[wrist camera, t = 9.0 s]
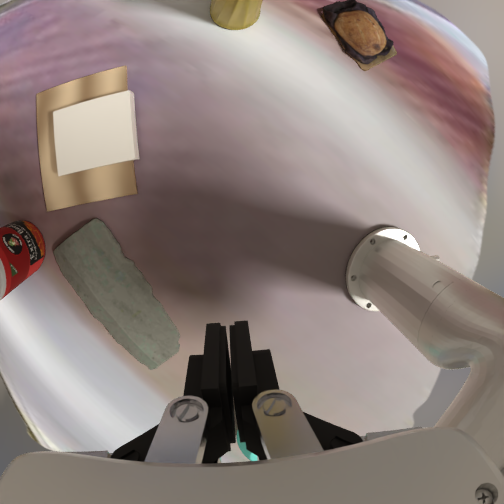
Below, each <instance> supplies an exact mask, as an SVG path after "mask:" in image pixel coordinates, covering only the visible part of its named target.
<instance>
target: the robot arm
mask: <svg viewBox="0 0 504 504" xmlns="http://www.w3.org/2000/svg"><path fill="white" fill-rule="evenodd" d="M370 240H371V241H370ZM346 285H347V289H348V292H349V294H350V296H351V297H352V299H353V300H354V301H355V302H356V303H357V304H358V305H359V306H360V307H361V308H363V309H365V310H369V311H380V312H381V313H382V314H383V315H384V316H385V317H386V318H387V319H388V320H389V321H390V322H391V323H392V324H393V325H394V326H395V327H396V328H397V329H398V330H399V331H400V332H401V333H402V334H403V335H404V336H405V337H406V338H407V339H408V340H409V341H410V342H411V343H412V344H413V345H414V346H415V347H416V348H417V349H418V350H419V351H420V352H421V353H422V354H423V355H424V356H425V357H426V358H427V359H428V360H429V361H430V362H431V363H432V364H434V365H435V366H437V367H440V368H443V369H461V368H466V367H471V371H470V374H469V376H468V378H467V380H466V382H465V383H464V385H463V387H462V389H461V390H460V392H459V393H458V394H457V396H456V397H455V399H454V400H453V402H452V403H451V404H450V406H449V407H448V408H447V410H446V411H445V413H444V414H443V415H442V416H441V418H440V419H439V420H438V422H437V423H436V425H435V426H434V427H428V428H422V427H414V428H407V429H400V430H392V431H383V432H373V433H366V436H359V435H357V434H355V433H354V432H351V431H349V430H346V429H343V428H341V427H338V426H336V425H333V424H331V423H328V422H326V421H323V420H321V419H319V418H316V417H314V416H311V415H309V414H307V413H305V412H303V411H302V410H301V408H300V406H299V404H298V402H297V400H296V399H295V397H294V396H293V395H292V394H290V393H289V392H286V391H283V390H279V386H278V382H277V377H276V373H275V369H274V365H273V360H272V356H271V352H270V349H267V350H257V351H252V348H251V341H250V334H249V327H248V321H236V322H235V325H230V353H231V366H230V358H229V350H228V342H227V334H226V326H221V325H220V323H210V324H207V325H206V335H205V345H204V355H190V357H189V362H188V369H187V375H186V382H185V389H184V396H182V397H178V398H176V399H174V400H172V401H171V402H170V403H169V404H168V405H167V407H166V409H165V411H164V414H163V416H162V419H161V421H160V423H159V424H158V425H157V426H155V427H153V428H152V429H150V430H148V431H147V432H145V433H143V434H142V435H140V436H138V437H137V438H135V439H133V440H132V441H130V442H128V443H126V444H125V445H123V446H121V447H119V448H118V449H117V450H115V451H114V452H113V453H109V452H108V451H91V452H57V451H41V452H31V453H26V454H23V455H20V456H18V457H16V458H15V459H14V460H13V461H12V462H11V463H10V464H9V465H8V466H7V468H6V469H5V471H4V473H3V474H2V476H1V478H0V504H504V298H503V297H501V296H499V295H498V294H496V293H494V292H492V291H490V290H488V289H487V288H485V287H483V286H482V285H480V284H478V283H476V282H475V281H473V280H471V279H470V278H468V277H466V276H464V275H463V274H461V273H459V272H457V271H456V270H454V269H452V268H450V267H448V266H447V265H445V264H443V263H441V262H440V259H439V257H438V256H437V255H435V256H428V255H427V254H425V253H423V252H421V251H420V249H419V247H418V244H417V242H416V241H415V239H414V238H413V237H412V236H411V235H410V234H409V233H408V232H406V231H404V230H402V229H399V228H396V227H384V228H381V229H378V230H375V231H373V232H372V233H370V234H368V235H367V236H366V237H365V238H364V239H362V241H361V242H360V243H359V244H358V245H357V246H356V248H355V250H354V251H353V253H352V255H351V257H350V260H349V262H348V266H347V270H346ZM233 398H234V402H233ZM234 405H235V412H236V419H237V425H238V432H239V438H240V443H241V442H246V449H247V450H248V451H250V452H252V453H253V454H255V455H257V460H258V461H248V462H234V463H221V456H223V455H224V454H225V453H226V452H228V451H231V447H230V443H236V438H235V421H234Z"/></svg>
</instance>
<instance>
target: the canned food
mask: <svg viewBox="0 0 504 504" xmlns="http://www.w3.org/2000/svg"><path fill="white" fill-rule="evenodd" d="M44 257H45V243H44V239H43V236H42V234H41V232H40V231H39V230H38V228H37V227H36V226H35V225H33V224H32V223H30V222H27V221H15V222H13V223H11V224H8V225H6V226H4V227H1V228H0V300H1V299H2V298H4V297H5V296H6V295H7V294H9V293H10V292H11V291H12V290H13V289H14V288H16V287H17V286H18V285H19V284H21V283H22V282H23V281H24V280H25V279H27V278H28V277H29V276H30V275H32V274H33V273H34V272H36V271H37V270H38V269H39V267H40V266H41V264H42V262H43V260H44Z"/></svg>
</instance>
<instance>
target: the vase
mask: <svg viewBox="0 0 504 504" xmlns="http://www.w3.org/2000/svg"><path fill="white" fill-rule="evenodd" d="M262 1H263V0H212V2H211V6H210V15H211V18H212V19H213V21H214V22H215V23H216V24H218V25H219V26H221V27H224V28H227V29H230V30H240V29H245V28H247V27H250V26H251V25H253V24H254V23H255V22H256V21H257V20H258V18H259V15H260V8H261V4H262Z"/></svg>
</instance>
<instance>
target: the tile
mask: <svg viewBox="0 0 504 504" xmlns="http://www.w3.org/2000/svg"><path fill="white" fill-rule="evenodd" d="M53 122H54V138H55V150H56V160H57V169H58V176H64V175H68V174H72V173H76V172H80V171H85V170H89V169H93V168H98V167H102V166H107V165H112V164H116V163H121V162H127V161H132V160H137V159H139V151H138V141H137V130H136V118H135V103H134V93H132V92H131V91H130V90H128V91H124V92H120V93H115V94H111V95H107V96H103V97H100V98H96V99H92V100H89V101H85V102H82V103H79V104H75V105H72V106H69V107H66V108H63V109H60V110H57V111H54V112H53Z"/></svg>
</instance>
